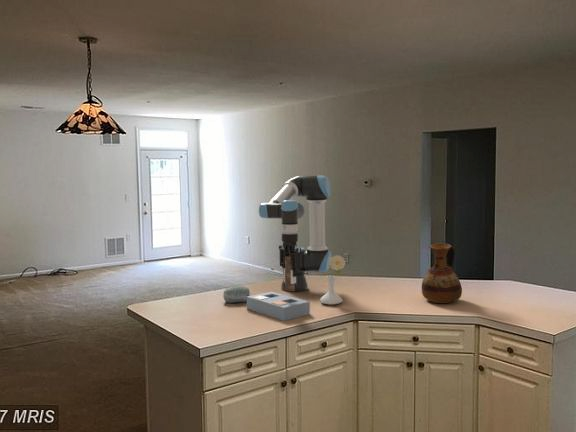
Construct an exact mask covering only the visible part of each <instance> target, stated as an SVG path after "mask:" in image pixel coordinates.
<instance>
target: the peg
mask: <svg viewBox="0 0 576 432" xmlns="http://www.w3.org/2000/svg"><path fill="white" fill-rule="evenodd" d="M291 269H292V265H291V257H290V256H285V290H284V291H286V292H295V291H294V290H295V283H294V284H291Z"/></svg>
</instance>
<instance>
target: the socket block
mask: <svg viewBox="0 0 576 432" xmlns="http://www.w3.org/2000/svg"><path fill="white" fill-rule="evenodd" d="M246 309H247V310H249V311H253V312H256V313H259V314H261V315H265V316H268V317H271V318H274V319H277V320H280V321H283V322H284V321H289V320H293V319H297V318H299V317H304V316H308V315H310V314H311V313H310V311H311V309H310V301H308V300H305V299H301V298H298V297H295V296H294V297H293V296H290V295H286V294H283V293H279V292H276V291H267V292H262V293H257V294H252V295H250V296H247V301H246Z"/></svg>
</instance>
